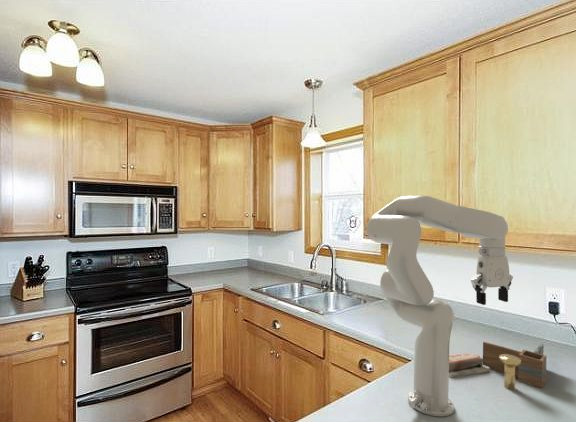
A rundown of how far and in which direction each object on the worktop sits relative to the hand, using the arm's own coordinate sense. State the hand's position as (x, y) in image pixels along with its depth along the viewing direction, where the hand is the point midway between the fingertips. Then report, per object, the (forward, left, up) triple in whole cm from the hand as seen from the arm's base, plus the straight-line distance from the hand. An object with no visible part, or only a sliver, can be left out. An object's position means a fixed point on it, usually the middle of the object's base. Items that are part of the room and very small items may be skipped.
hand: (492, 302), depth 114 cm
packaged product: (+4, +11, -28) cm, 30 cm away
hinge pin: (+2, -5, -27) cm, 28 cm away
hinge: (+19, -3, -27) cm, 33 cm away
